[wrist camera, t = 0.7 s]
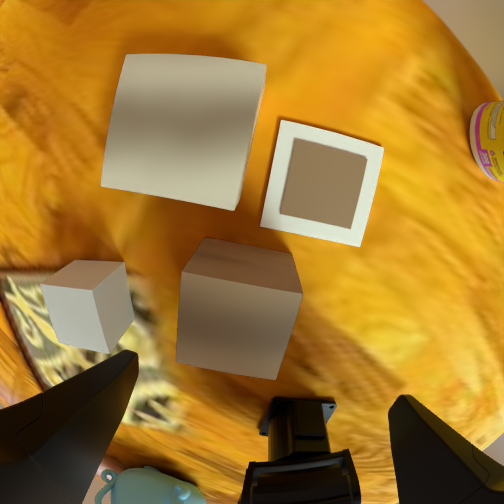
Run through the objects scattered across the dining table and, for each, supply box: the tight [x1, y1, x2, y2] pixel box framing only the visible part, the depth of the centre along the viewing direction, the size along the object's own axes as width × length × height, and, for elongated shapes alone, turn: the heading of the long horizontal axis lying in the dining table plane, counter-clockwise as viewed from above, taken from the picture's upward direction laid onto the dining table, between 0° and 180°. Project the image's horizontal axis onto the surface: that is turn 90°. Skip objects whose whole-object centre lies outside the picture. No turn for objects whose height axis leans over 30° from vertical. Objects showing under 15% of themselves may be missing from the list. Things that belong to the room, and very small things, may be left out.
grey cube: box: [40, 260, 135, 354], centre depth 19 cm, size 5×5×5 cm
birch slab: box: [101, 54, 266, 211], centre depth 15 cm, size 8×8×4 cm
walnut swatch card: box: [260, 120, 384, 247], centre depth 17 cm, size 7×7×1 cm
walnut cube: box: [176, 237, 303, 380], centre depth 17 cm, size 6×6×6 cm
